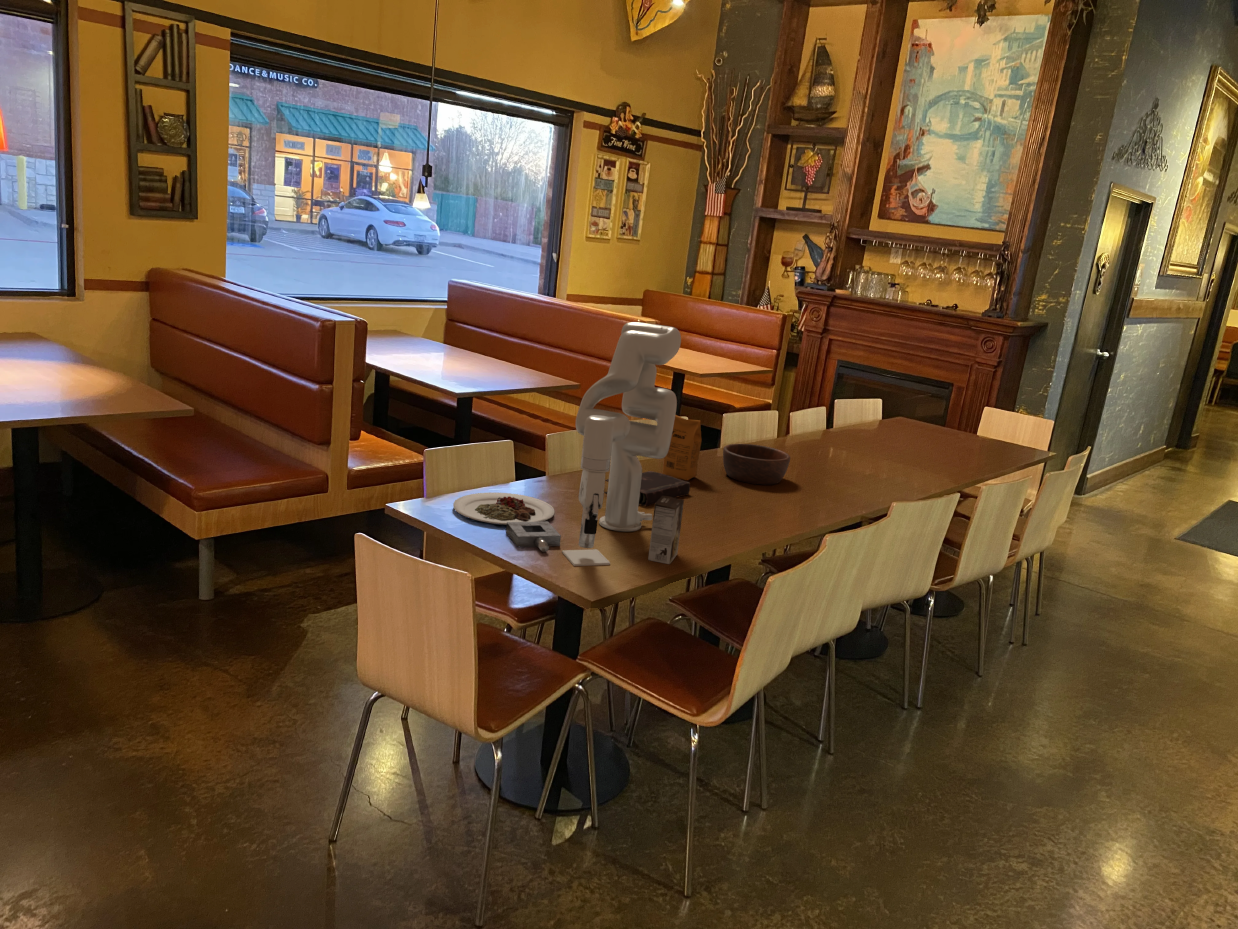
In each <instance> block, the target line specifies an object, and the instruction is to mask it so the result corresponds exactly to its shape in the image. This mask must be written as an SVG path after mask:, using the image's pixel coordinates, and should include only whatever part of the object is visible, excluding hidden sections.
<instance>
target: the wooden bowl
mask: <svg viewBox="0 0 1238 929" xmlns="http://www.w3.org/2000/svg"><path fill="white" fill-rule="evenodd" d="M722 460H723V461H722V462H723V469H724V471H725V473H726V475H727V476H728V477H729V478H731V479H733V480H736V481H739V482H742V483H746V484H751V485H752V484H753V485H761V486H765V485H766V486H770V485H771V486H772V485H776V484H778V483H780V482H781V481H782V480H783V479H784V477H785V476H786V473H787V471H788V468H789V464H790V460H791V455H790V454H789V453H787V452H786V451H783V450H781V449H778V448H774V447H770V446H766V445H759V444H752V443H731V444H727V445H725V446H723V450H722Z"/></svg>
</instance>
